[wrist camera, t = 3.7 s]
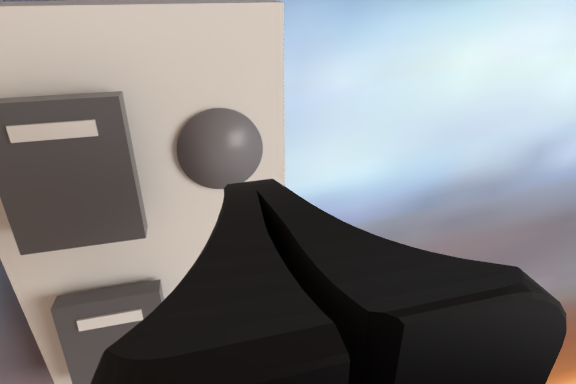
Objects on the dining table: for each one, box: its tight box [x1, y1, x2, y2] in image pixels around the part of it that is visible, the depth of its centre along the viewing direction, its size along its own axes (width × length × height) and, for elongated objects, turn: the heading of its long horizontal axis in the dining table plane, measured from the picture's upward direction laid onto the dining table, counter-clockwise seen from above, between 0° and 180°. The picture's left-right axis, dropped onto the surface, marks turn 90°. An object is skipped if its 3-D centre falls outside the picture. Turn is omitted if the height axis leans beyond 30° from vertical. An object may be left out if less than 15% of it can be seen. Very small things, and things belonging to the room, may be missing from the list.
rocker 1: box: [0, 91, 148, 255], centre depth 13 cm, size 5×4×2 cm
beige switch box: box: [0, 0, 285, 384], centre depth 17 cm, size 18×11×3 cm, turn 0°
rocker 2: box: [50, 280, 164, 384], centre depth 17 cm, size 5×4×2 cm
